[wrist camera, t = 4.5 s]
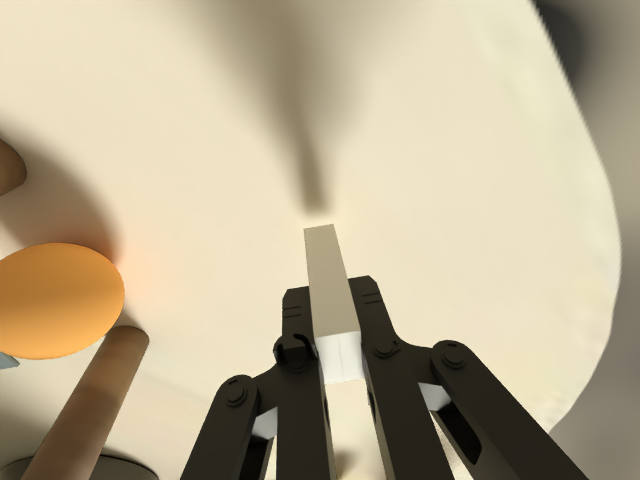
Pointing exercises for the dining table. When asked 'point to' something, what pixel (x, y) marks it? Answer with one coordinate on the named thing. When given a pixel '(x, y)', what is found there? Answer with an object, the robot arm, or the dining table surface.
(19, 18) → the dining table surface
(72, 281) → the ball
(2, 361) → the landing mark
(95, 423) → the post
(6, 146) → the post
